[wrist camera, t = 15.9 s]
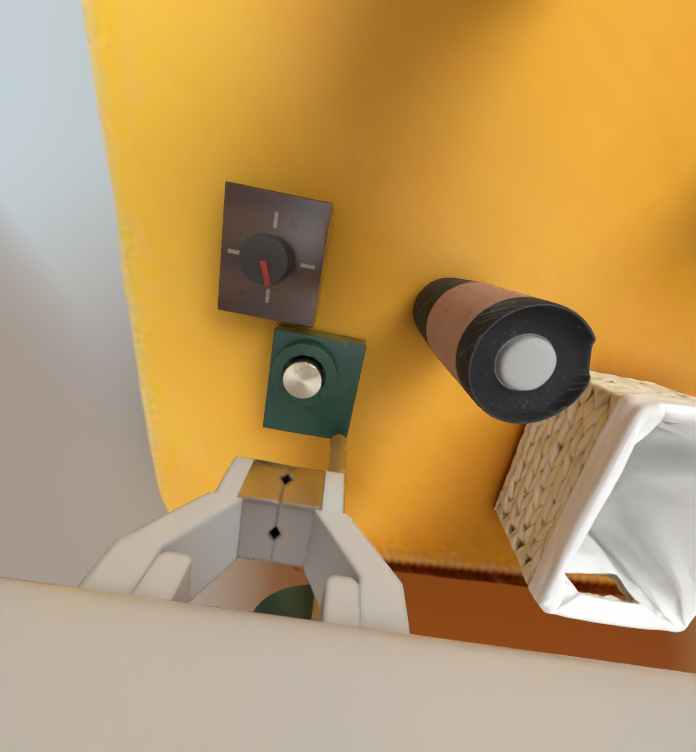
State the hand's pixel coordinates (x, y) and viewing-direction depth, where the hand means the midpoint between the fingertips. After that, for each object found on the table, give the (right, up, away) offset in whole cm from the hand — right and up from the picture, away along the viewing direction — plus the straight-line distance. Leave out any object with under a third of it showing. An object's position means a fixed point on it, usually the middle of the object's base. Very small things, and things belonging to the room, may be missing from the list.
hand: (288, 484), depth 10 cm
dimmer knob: (-6, +15, +25) cm, 29 cm away
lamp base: (-2, +2, +32) cm, 32 cm away
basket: (+30, -6, +35) cm, 47 cm away
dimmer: (-6, +16, +27) cm, 32 cm away
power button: (-3, +3, +28) cm, 28 cm away
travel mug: (+12, +10, +29) cm, 34 cm away
